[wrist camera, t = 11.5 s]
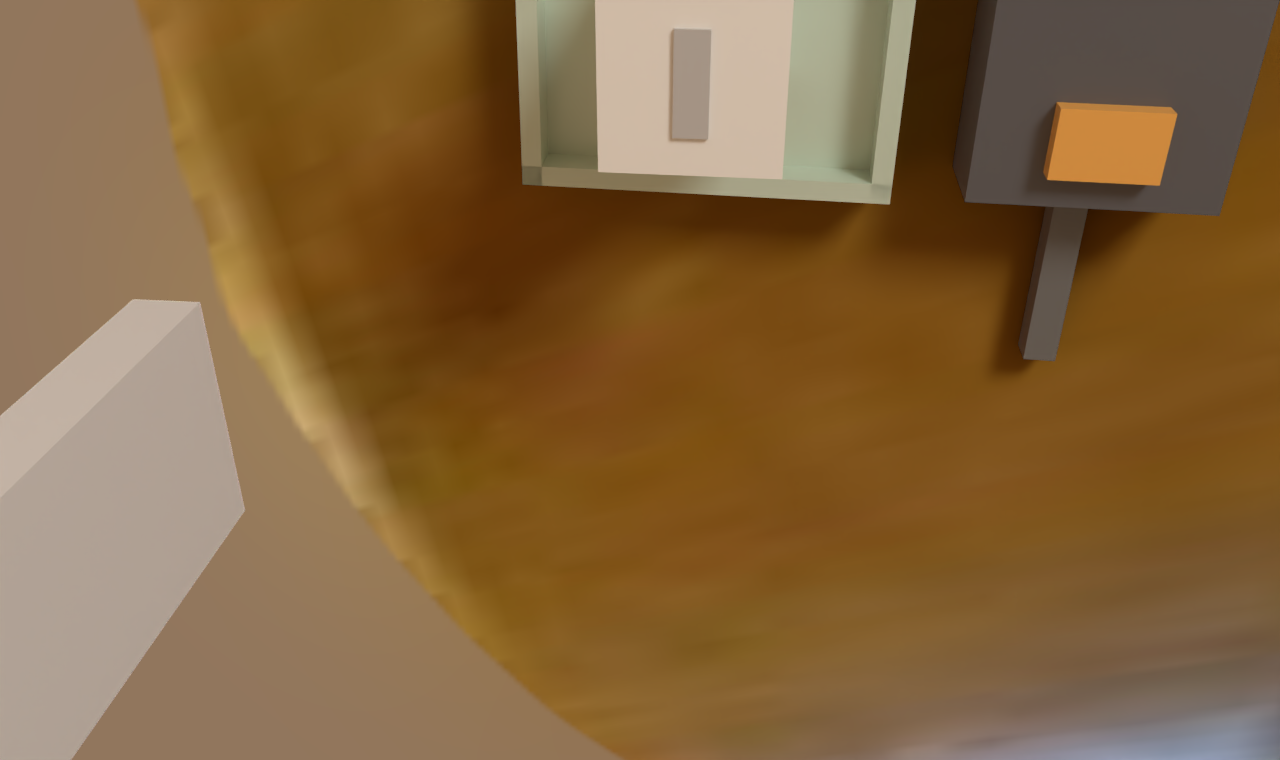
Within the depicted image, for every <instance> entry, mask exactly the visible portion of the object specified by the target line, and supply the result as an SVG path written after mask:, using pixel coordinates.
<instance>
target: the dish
mask: <svg viewBox="0 0 1280 760" xmlns="http://www.w3.org/2000/svg"><path fill="white" fill-rule="evenodd" d="M915 4H916V0H794V7H793V22H792V38H791V53H790V69H789V84H788V100H787V115H786V131H785V146H784V162H783V177H782V179H758V178H733V177H708V176H683V175H658V174H633V173H608V172H598V140H597V84H596V27H595V0H516V26H517V52H518V78H519V105H520V131H521V157H522V183H523V185H540V186H558V187H577V188H595V189H614V190H632V191H651V192H669V193H688V194H706V195H725V196H743V197H762V198H780V199H799V200H817V201H836V202H854V203H873V204H890V199H891V191H892V183H893V175H894V168H895V160H896V152H897V144H898V136H899V129H900V121H901V113H902V105H903V98H904V90H905V82H906V74H907V66H908V59H909V51H910V43H911V35H912V27H913V20H914V12H915Z"/></svg>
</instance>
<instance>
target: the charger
mask: <svg viewBox="0 0 1280 760" xmlns="http://www.w3.org/2000/svg"><path fill="white" fill-rule="evenodd" d="M793 7H794V0H595V27H596V84H597V140H598V172H608V173H633V174H658V175H683V176H708V177H733V178H758V179H782V177H783V162H784V146H785V131H786V115H787V100H788V84H789V69H790V53H791V38H792V22H793Z"/></svg>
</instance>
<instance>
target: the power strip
mask: <svg viewBox="0 0 1280 760" xmlns="http://www.w3.org/2000/svg"><path fill="white" fill-rule="evenodd" d="M1278 4H1279V0H978V4H977V11H976V17H975V24H974V30H973V37H972V43H971V50H970V56H969V63H968V69H967V76H966V82H965V89H964V95H963V102H962V108H961V115H960V121H959V128H958V134H957V141H956V147H955V154H954V160H953V169H954V172H955V175H956V178H957V181H958V184H959V187H960V189H961V192H962V195H963V198H964V201H965V202H972V203H990V204H1009V205H1028V206H1046V207H1045V212H1044V217H1043V222H1042V227H1041V232H1040V237H1039V242H1038V247H1037V252H1036V257H1035V262H1034V267H1033V272H1032V277H1031V282H1030V287H1029V292H1028V297H1027V302H1026V307H1025V312H1024V317H1023V322H1022V327H1021V332H1020V337H1019V342H1018V346H1019V348H1020V351H1021V354H1022V357H1023V359H1031V360H1047V361H1055V358H1056V354H1057V349H1058V345H1059V340H1060V335H1061V331H1062V326H1063V322H1064V317H1065V313H1066V308H1067V304H1068V299H1069V294H1070V290H1071V285H1072V281H1073V276H1074V272H1075V267H1076V262H1077V258H1078V253H1079V249H1080V244H1081V240H1082V235H1083V230H1084V226H1085V221H1086V217H1087V212H1088V209H1103V210H1121V211H1140V212H1159V213H1177V214H1196V215H1215V216H1219V215H1220V211H1221V208H1222V204H1223V201H1224V197H1225V194H1226V190H1227V186H1228V183H1229V179H1230V176H1231V172H1232V168H1233V165H1234V161H1235V158H1236V154H1237V151H1238V147H1239V143H1240V140H1241V136H1242V133H1243V129H1244V125H1245V122H1246V118H1247V115H1248V111H1249V108H1250V104H1251V100H1252V97H1253V93H1254V90H1255V86H1256V83H1257V79H1258V75H1259V72H1260V68H1261V65H1262V61H1263V57H1264V54H1265V50H1266V47H1267V43H1268V40H1269V36H1270V32H1271V29H1272V25H1273V22H1274V18H1275V14H1276V11H1277V7H1278Z"/></svg>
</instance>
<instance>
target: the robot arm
mask: <svg viewBox="0 0 1280 760" xmlns="http://www.w3.org/2000/svg"><path fill="white" fill-rule="evenodd" d="M244 511H245V508H244V504H243V499H242V494H241V490H240V485H239V480H238V476H237V471H236V466H235V462H234V457H233V452H232V448H231V443H230V438H229V434H228V429H227V424H226V420H225V416H224V411H223V406H222V401H221V397H220V392H219V387H218V384H217V378H216V373H215V369H214V364H213V360H212V355H211V350H210V346H209V341H208V336H207V332H206V327H205V322H204V318H203V313H202V309H201V305H200V302H185V301H184V302H183V301H161V300H138V299H133V300H132V301H130V302H129V303H128V304H127V305H126V306H125V307H124V308H123V309H121V310H120V311H119V312H118V313H117V314H116V315H115V316H113V317H112V318H111V319H110V320H109V321H108V322H107V323H106V324H104V325H103V326H102V327H101V328H100V329H99V330H97V331H96V332H95V333H94V334H93V335H92V336H91V337H90V338H88V339H87V340H86V341H85V342H84V343H83V344H82V345H80V346H79V347H78V348H77V349H76V350H75V351H74V352H73V353H71V354H70V355H69V356H68V357H67V358H66V359H64V360H63V361H62V362H61V363H60V364H59V365H58V366H56V367H55V368H54V369H53V370H52V371H51V372H50V373H49V374H47V375H46V376H45V377H44V378H43V379H42V380H40V381H39V382H38V383H37V384H36V385H35V386H34V387H32V388H31V389H30V390H29V391H28V392H27V393H26V394H25V395H23V396H22V397H21V398H20V399H19V400H18V401H17V402H15V403H14V404H13V405H12V406H11V407H10V408H9V409H7V410H6V411H5V412H4V413H3V414H2V415H1V416H0V760H71V759H72V758H73V757H74V755H75V753H76V752H77V751H78V749H79V748H80V746H81V745H82V744H83V742H84V741H85V739H86V738H87V736H88V735H89V733H90V732H91V731H92V729H93V728H94V726H95V725H96V724H97V722H98V720H99V719H100V718H101V716H102V715H103V713H104V712H105V711H106V709H107V708H108V706H109V704H110V703H111V702H112V701H113V699H114V698H115V696H116V695H117V693H118V692H119V690H120V689H121V687H122V686H123V685H124V683H125V682H126V680H127V679H128V678H129V676H130V674H131V673H132V672H133V670H134V669H135V667H136V666H137V665H138V663H139V662H140V660H141V659H142V658H143V656H144V655H145V653H146V652H147V650H148V649H149V647H150V646H151V644H152V643H153V642H154V640H155V639H156V637H157V636H158V635H159V633H160V632H161V630H162V629H163V627H164V626H165V625H166V623H167V622H168V620H169V619H170V617H171V616H172V614H173V613H174V611H175V610H176V609H177V607H178V606H179V604H180V603H181V601H182V600H183V599H184V597H185V596H186V594H187V593H188V592H189V590H190V588H191V587H192V586H193V584H194V583H195V581H196V580H197V578H198V577H199V576H200V574H201V573H202V571H203V570H204V569H205V567H206V566H207V564H208V563H209V561H210V560H211V559H212V557H213V556H214V554H215V553H216V551H217V550H218V548H219V547H220V546H221V544H222V543H223V541H224V540H225V538H226V537H227V536H228V534H229V533H230V531H231V530H232V528H233V527H234V525H235V524H236V523H237V521H238V520H239V518H240V517H241V515H242V514H243V513H244Z"/></svg>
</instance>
